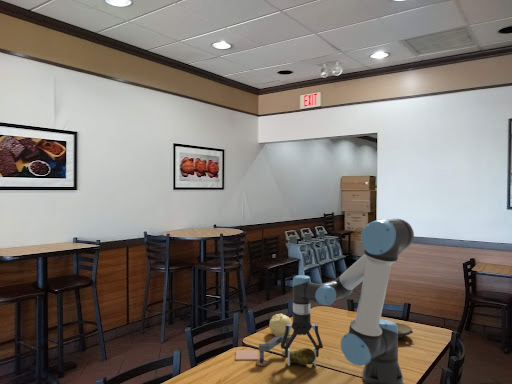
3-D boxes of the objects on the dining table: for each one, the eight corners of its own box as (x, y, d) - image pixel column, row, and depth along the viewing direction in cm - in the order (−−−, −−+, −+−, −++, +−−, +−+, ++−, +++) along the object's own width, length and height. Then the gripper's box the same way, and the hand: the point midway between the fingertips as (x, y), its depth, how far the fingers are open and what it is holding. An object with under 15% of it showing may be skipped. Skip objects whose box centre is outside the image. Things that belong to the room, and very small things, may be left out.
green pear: (301, 358, 183) (301, 340, 183) (318, 369, 172) (318, 350, 172) (285, 361, 180) (285, 343, 180) (301, 373, 168) (301, 353, 168)
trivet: (258, 360, 181) (258, 358, 181) (235, 360, 181) (235, 358, 181) (257, 351, 191) (257, 350, 191) (236, 351, 191) (236, 350, 191)
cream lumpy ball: (269, 330, 221) (269, 310, 221) (292, 331, 220) (292, 311, 220) (268, 338, 209) (268, 316, 209) (292, 339, 208) (292, 317, 208)
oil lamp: (387, 347, 196) (386, 331, 196) (349, 329, 224) (349, 314, 224) (423, 341, 205) (423, 326, 205) (382, 324, 232) (382, 310, 232)
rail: (295, 354, 187) (295, 336, 187) (262, 367, 173) (262, 348, 173) (284, 350, 192) (284, 333, 192) (251, 362, 178) (251, 343, 178)
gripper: (326, 309, 180) (326, 360, 180) (274, 310, 179) (274, 361, 179) (330, 314, 172) (330, 367, 172) (275, 315, 172) (275, 368, 172)
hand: (301, 364), depth 176 cm, fingers closed on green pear, 10 cm apart
